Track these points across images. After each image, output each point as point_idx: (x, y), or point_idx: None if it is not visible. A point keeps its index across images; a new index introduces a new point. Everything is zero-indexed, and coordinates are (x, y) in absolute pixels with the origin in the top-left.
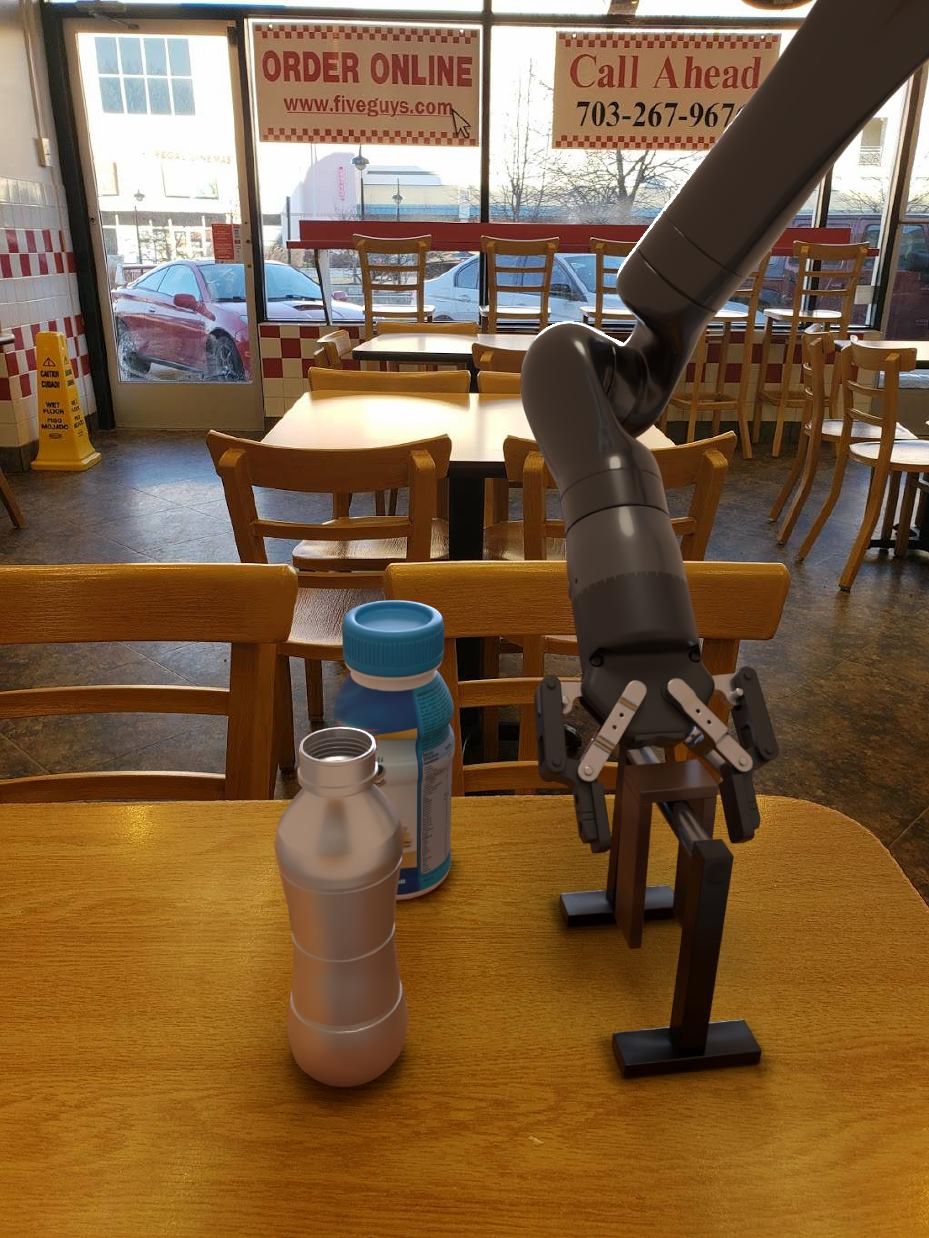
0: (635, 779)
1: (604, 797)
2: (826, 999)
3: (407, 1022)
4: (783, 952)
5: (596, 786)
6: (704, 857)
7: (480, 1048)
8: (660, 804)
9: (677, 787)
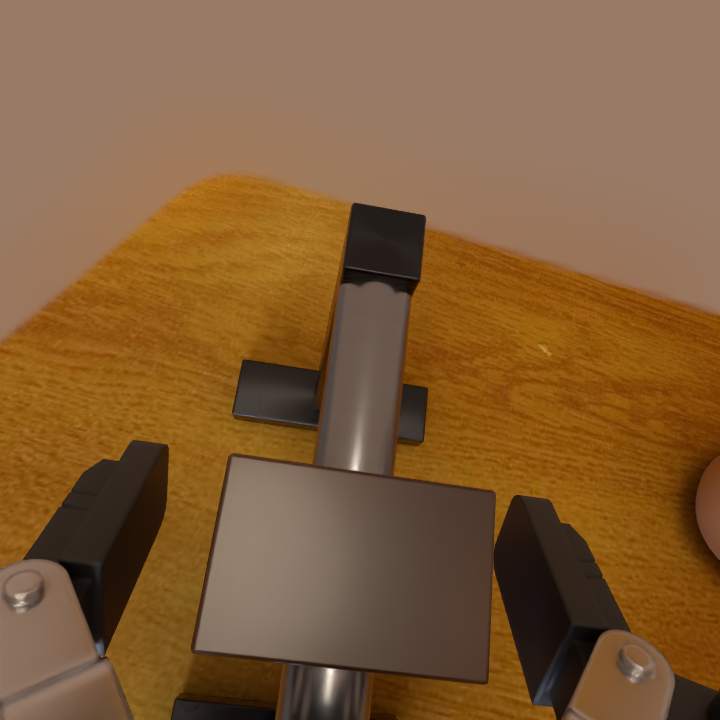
0: (485, 571)
1: (556, 584)
2: (68, 440)
3: (717, 486)
4: None
5: (589, 617)
6: (425, 218)
7: (583, 488)
8: None
9: (370, 482)
